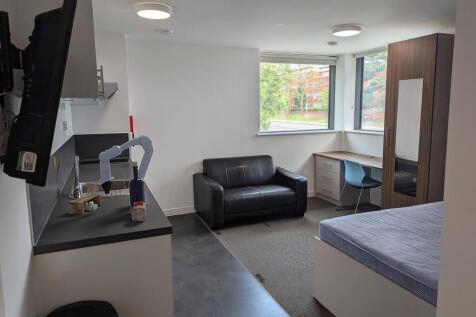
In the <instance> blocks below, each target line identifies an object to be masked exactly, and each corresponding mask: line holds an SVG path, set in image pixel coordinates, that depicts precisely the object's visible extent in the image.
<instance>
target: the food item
mask: <svg viewBox="0 0 476 317" xmlns="http://www.w3.org/2000/svg"><path fill="white" fill-rule="evenodd" d="M147 212H148V211H147V205H146V204H145V202H140V201H139V202H134V206H133V210H132V209H131V213H130V215H131V220H132V221H133V222H134V223H141V222H142V223H144V222H146V219H147Z"/></svg>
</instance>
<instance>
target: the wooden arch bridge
mask: <svg viewBox="0 0 476 317" xmlns="http://www.w3.org/2000/svg"><path fill="white" fill-rule="evenodd" d="M86 201H87V202H88V204H89V202H93V204H98V206H102V205H103V204H102V203H103V201H102V194H96V193H95V194H94V193H93V194H91V193H88V194H85V195H83V196H80V197H78V198H76V199H73V200H70V201H69V202H68V214H69V215H70V214H71V215H84V214H85V210H84V202H86Z"/></svg>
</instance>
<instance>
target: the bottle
mask: <svg viewBox="0 0 476 317" xmlns="http://www.w3.org/2000/svg"><path fill="white" fill-rule="evenodd" d="M131 168H132V173H133V174H132V175H133V178H132V179H130V180H129V182H128V196H129V210H130V212H129V213H130V214H131V209H132V210H133V206H134V202H139V201H140V202H145V193H144V192H145V181H144V182H143V181H142V180H141V179H139V178H138V169H139V166H138V161H132V166H131Z"/></svg>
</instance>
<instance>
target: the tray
mask: <svg viewBox="0 0 476 317" xmlns="http://www.w3.org/2000/svg"><path fill="white" fill-rule="evenodd" d="M98 209H99V205H98V204H93V202H89V204H88V202H87V201H86V202H84V211H96V210H98Z"/></svg>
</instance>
